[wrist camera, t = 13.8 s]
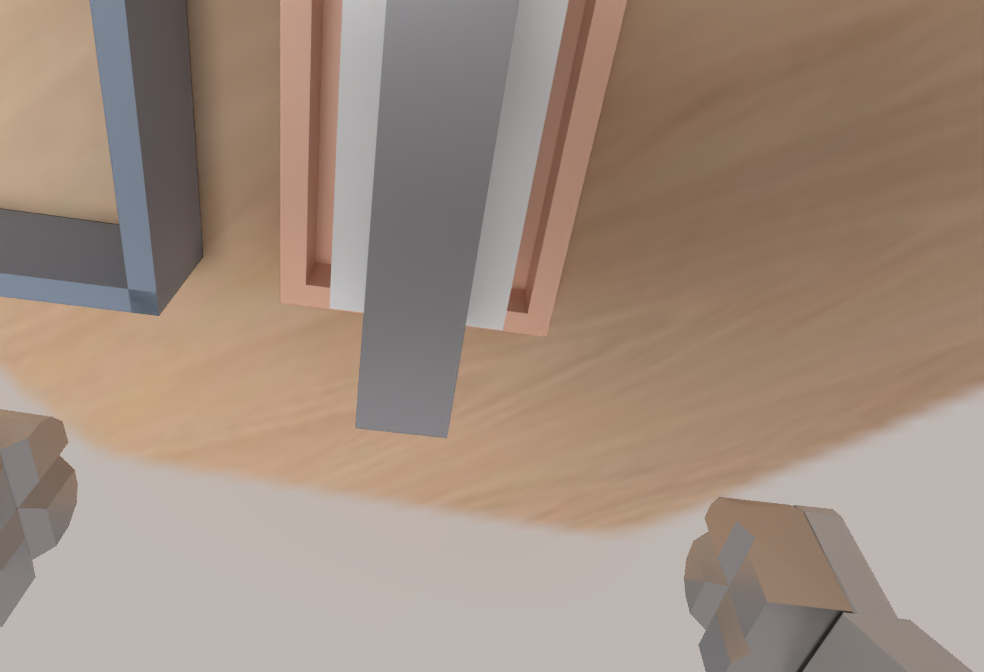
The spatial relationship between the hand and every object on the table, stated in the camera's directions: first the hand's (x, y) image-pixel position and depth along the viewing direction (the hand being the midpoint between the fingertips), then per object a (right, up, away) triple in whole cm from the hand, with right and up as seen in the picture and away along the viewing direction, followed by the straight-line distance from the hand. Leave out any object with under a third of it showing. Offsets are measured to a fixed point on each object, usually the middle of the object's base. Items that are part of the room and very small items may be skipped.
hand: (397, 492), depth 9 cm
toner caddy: (-1, +11, +17) cm, 20 cm away
